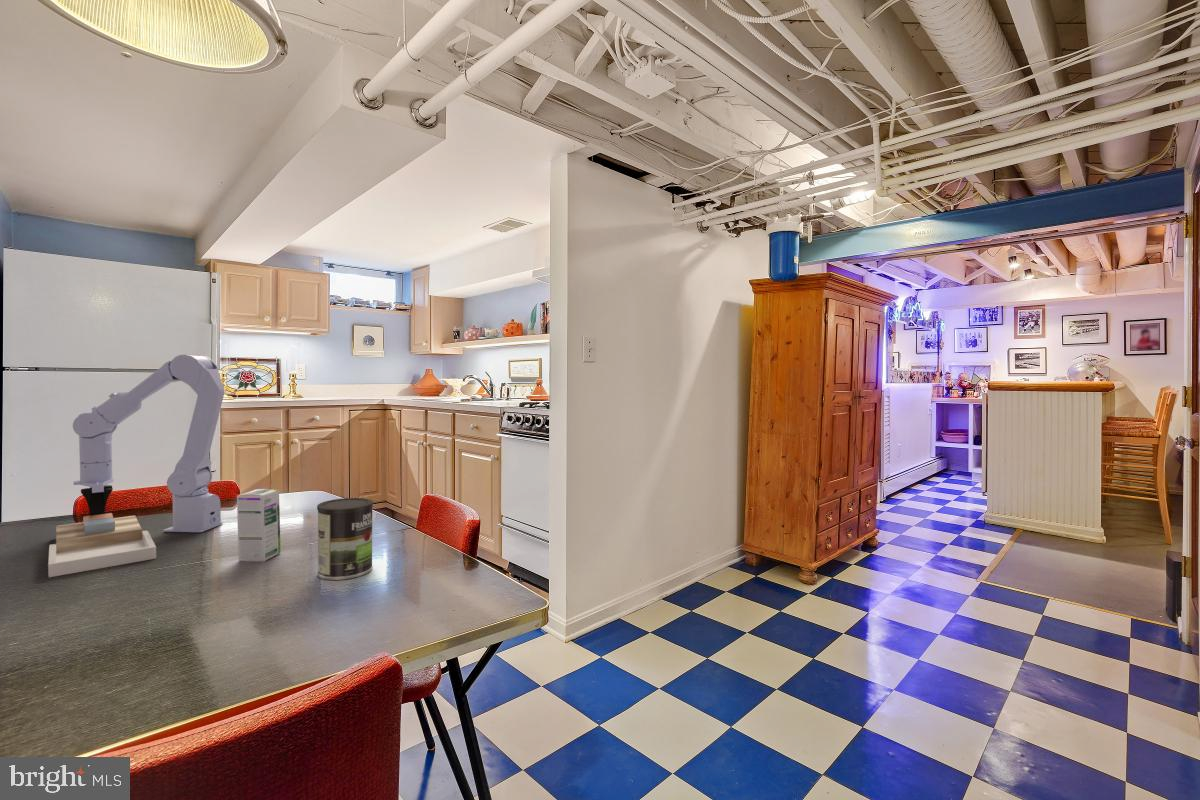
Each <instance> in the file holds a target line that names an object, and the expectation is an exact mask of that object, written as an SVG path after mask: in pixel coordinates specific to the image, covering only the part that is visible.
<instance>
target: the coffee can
mask: <svg viewBox="0 0 1200 800" xmlns="http://www.w3.org/2000/svg"><path fill="white" fill-rule="evenodd" d="M373 506H374V500H372V499H370V498H363V497H346V498H335V499H329V500H326V501H325V500H324V501H323V502H320V503H318V504H317V506H316V509H317V552H318V553H317V577H319V578H320V579H322V580H327V581H345V580H351V578H352V579H356V578H359V577H362V576H365V575H367V574H369V573H370V572H371V571H372V570H373V567H374V566H373ZM368 572H369V573H368ZM366 573H367V574H366ZM364 574H365V575H364ZM361 575H362V576H361ZM355 577H356V578H355Z"/></svg>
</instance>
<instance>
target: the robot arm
mask: <svg viewBox="0 0 1200 800" xmlns="http://www.w3.org/2000/svg"><path fill="white" fill-rule="evenodd" d="M219 370H220V367H219V366H218V365H217V364H216V363H215V362H214V361H213V360H212V359H211V358H209V356H206V355H190V354H179V355H176V356H175V357H173V359H171V360H169V361H167V362H164V364H162V365H161V367H159V368H158V369H157V370H155V371H153V373H151V374H150V375H149V376H148V377H147V378H145V379H144V380H142V381H141V382H140V383H139V384H137V385H136V386H135V387H134V388H132V389H131V390H129V391H119V392H112V393H111V394H109V395H108V397H109V398H108V399H106V401H104V402H103V403H101V404H99V406H98V405H97V406H93V407H92V408H91V412H83V413H80V414H79V415H78V416H77V417H75V419H74V420H73V423H72V429H73V431H74V432H75V434H76V435H78V442H79V443H78V445H79V449H78V450H79V480H74V481H73V485H75V486H79V485H80V486H84V487H86V488H81V489H80V493H81V495H82V496H83V498H84V499H85V501H86V503H87V507H88V511H89V514H90V515H89V516H92V515H100V514H105V513H106V507H107V502H108V499H109V497H110V495H111V494H112V491H113V490H114V488H113V485H110V484H111V483H114V480H115V479H114V477H113V452H112V451H113V449H112V448H113V447H112V444H113V443H112V441H113V440H112V439H113V437H112V436H113V433H114V432H115V431H116V430H117V428H118V425H120V424H121V423H123V421H125V420H127V419H128V418H129V417H131V416H132V415H134V414H135V413H137V412H138V411H140V410H141V408H142V402H143V401H144V400H146V399H148V398H149V397H151V396H152V395H154V394H156V393H157V392H159V391H160V390H162V389H163V388H165V387H166V386H168V385H169V384H171V383H177V382H182V383H184V384H186V385H188V386H189V387H190V388H191V389H192V390H193V391H194V392H195V394H196V395H197V397H196V402H195V406H194V409H193V412H192V416H191V417H192V418H191V421H190V425H189V429H188V433H187V437H186V441H185V444H184V445H185V446H184V449H183V454H182V456H181V458H180V459H179V460H178V462H177V463H176V464H175V468H174V470H173V472H172V473H171V474H170V475H169V476H168V478H167V481H166V485H167V489H168V490H169V491H170V493H171V494H172V495H171V496H172V526H170V527H167V528H164V529H163V532H164V533H166V532H167V533H203V532H205V531H209V530H210V529H213V528H216V527H218V526H221V525H223V524H224V522H223V521H222V520H221V516H222V515H221V513H222V512H221V511H222V510H221V500H220V497H219V496H218V495H217V494H214V493H210V492H209V487H208V485H209V484H210V483H211V482H212V479H213V473H212V470H211V466H212V461H211V459H210V457H209V455H210V453H211V448H212V444H213V440H214V435H215V433H216V428H217V424H218V421H219V416H220V412H221V408H222V405H223V400H224V397H225V388H224V387H225V386H224V384H223V381H222V379H221V376H220V372H219ZM87 487H88V488H87Z"/></svg>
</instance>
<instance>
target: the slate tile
mask: <svg viewBox="0 0 1200 800" xmlns="http://www.w3.org/2000/svg"><path fill="white" fill-rule="evenodd" d="M114 518H115V517H113V518H106V519H98V520H91V521H84V532H85V535H87V534H94V533H101V532H108V531H115V521H114Z"/></svg>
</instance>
